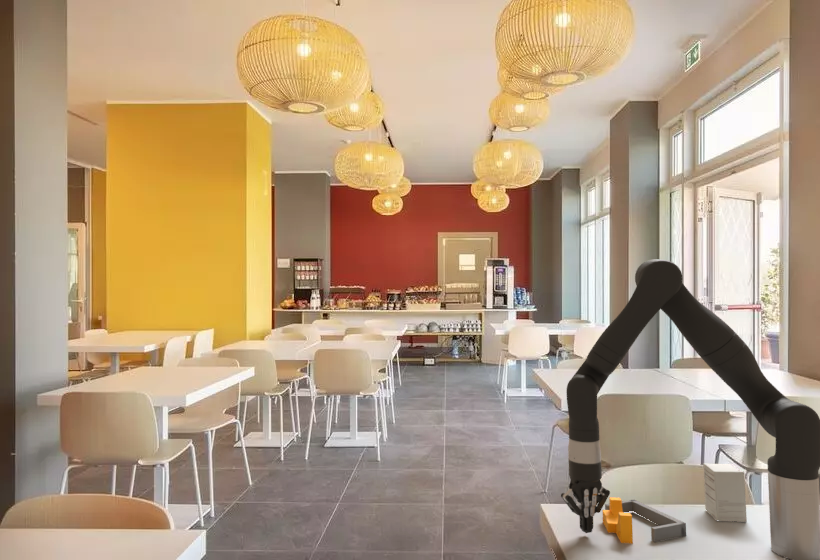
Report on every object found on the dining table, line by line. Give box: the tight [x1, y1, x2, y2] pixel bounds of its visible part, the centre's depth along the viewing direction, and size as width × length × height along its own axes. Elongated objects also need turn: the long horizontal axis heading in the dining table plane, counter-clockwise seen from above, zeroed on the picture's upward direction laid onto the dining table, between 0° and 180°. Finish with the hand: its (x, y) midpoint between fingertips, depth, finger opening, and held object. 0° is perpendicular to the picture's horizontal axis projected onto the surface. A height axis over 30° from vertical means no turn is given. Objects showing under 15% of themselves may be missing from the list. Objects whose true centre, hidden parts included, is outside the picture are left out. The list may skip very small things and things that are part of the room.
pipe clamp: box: [602, 496, 634, 545], centre depth 131 cm, size 12×4×6 cm, turn 171°
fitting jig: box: [604, 499, 687, 543], centre depth 135 cm, size 10×17×3 cm, turn 20°
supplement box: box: [703, 462, 748, 523], centre depth 140 cm, size 7×7×13 cm
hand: (586, 531), depth 129 cm, fingers closed
